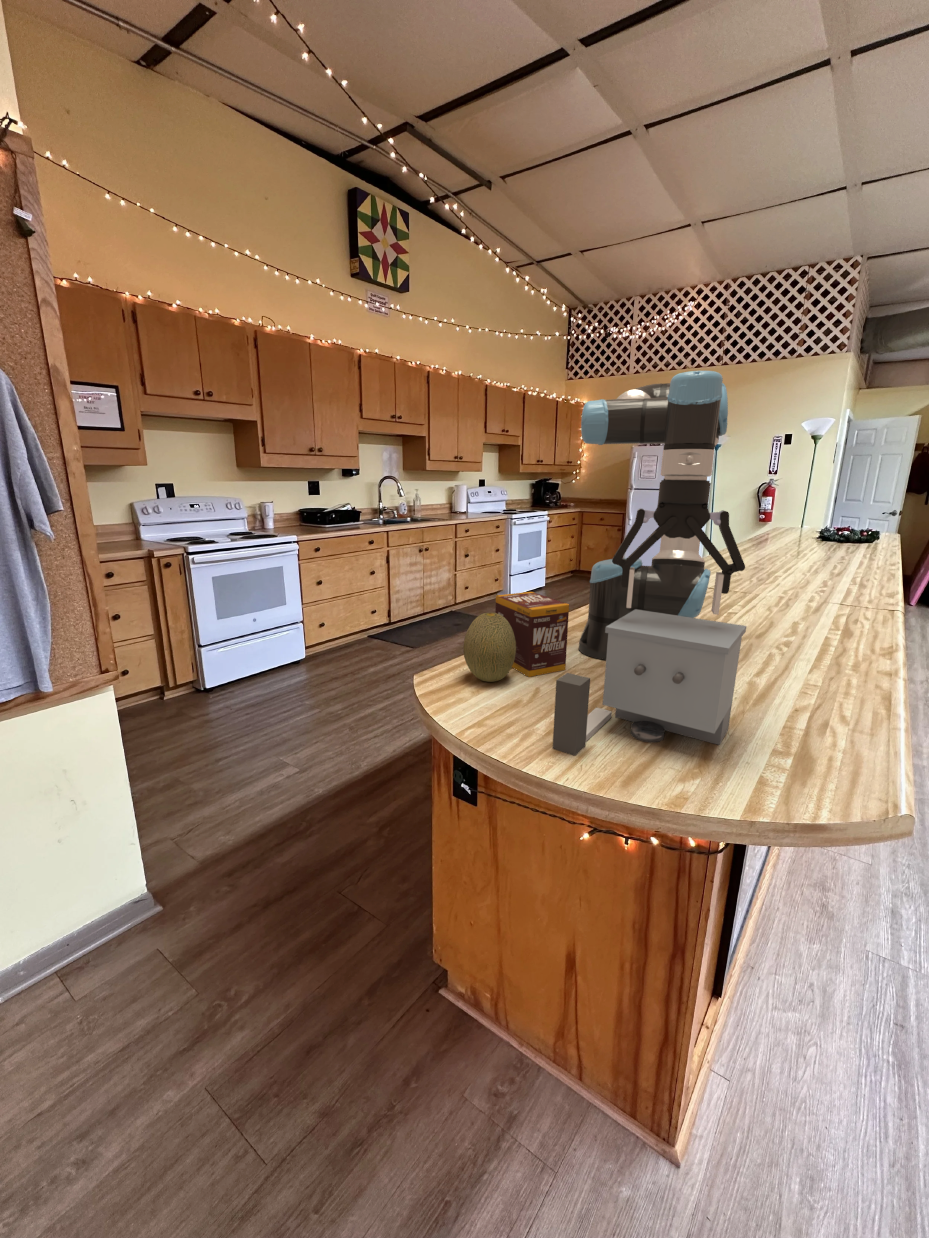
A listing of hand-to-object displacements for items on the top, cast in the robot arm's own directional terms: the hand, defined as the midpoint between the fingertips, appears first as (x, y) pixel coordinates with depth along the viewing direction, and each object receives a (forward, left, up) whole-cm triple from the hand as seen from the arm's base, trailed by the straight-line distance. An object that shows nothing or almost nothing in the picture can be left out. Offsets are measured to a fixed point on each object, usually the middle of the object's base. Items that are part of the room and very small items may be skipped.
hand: (670, 609), depth 91 cm
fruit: (-37, +1, -22) cm, 43 cm away
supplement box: (-35, +15, -22) cm, 44 cm away
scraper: (-10, -10, -21) cm, 26 cm away
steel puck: (-1, -4, -22) cm, 22 cm away
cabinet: (+1, -1, -22) cm, 22 cm away
